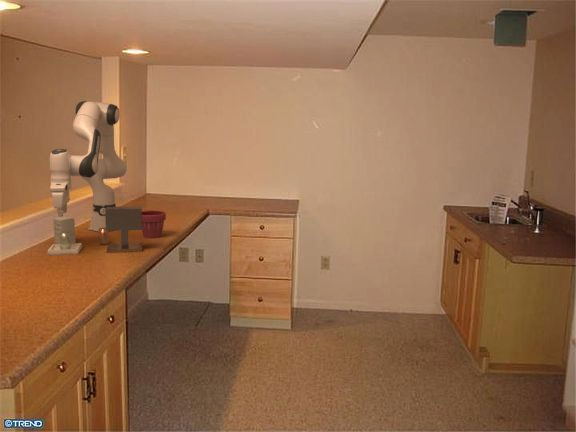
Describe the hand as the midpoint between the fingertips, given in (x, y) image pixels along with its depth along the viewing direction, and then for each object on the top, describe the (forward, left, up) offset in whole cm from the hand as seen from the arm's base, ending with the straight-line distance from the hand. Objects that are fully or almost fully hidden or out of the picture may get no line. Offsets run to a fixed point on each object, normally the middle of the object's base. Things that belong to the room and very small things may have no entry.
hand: (62, 214), depth 264 cm
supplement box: (-18, -3, -18) cm, 25 cm away
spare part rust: (-12, +16, -17) cm, 27 cm away
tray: (0, 0, -17) cm, 17 cm away
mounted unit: (0, +27, -17) cm, 32 cm away
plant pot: (-27, +39, -18) cm, 51 cm away
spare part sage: (0, 0, -17) cm, 17 cm away
